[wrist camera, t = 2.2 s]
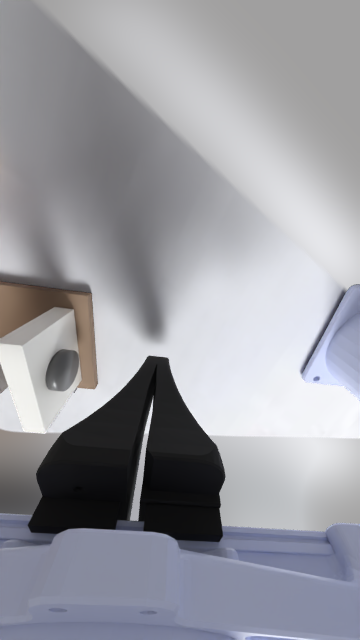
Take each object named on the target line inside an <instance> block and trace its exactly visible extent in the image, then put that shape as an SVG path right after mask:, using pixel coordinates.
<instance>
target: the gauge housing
mask: <svg viewBox="0 0 360 640" xmlns="http://www.w3.org/2000/svg"><path fill="white" fill-rule="evenodd" d="M54 307H59V308H67V309H74V316H75V325H76V334H77V342H78V351H79V360H80V368H81V377H82V380H81V382H80V383H79V385H78V386H77V388H86V389H95V388H96V386H97V384H98V381H97V366H96V351H95V337H94V322H93V307H92V293H86V292H78V291H70V290H62V289H55V288H47V287H39V286H31V285H24V284H16V283H8V282H1V281H0V338H2V337H4V336H5V335H7V334H9V333H11V332H12V331H14V330H16V329H18V328H19V327H21V326H23V325H24V324H26V323H28V322H30V321H31V320H33V319H35V318H37V317H38V316H40V315H42V314H43V313H45V312H47V311H49V310H50V309H52V308H54ZM7 387H8V384H7V381H6V379H5V376H4V373H3V370H2V367H1V364H0V394H1V393H2V392H3V391H4V390H5V389H6V388H7Z"/></svg>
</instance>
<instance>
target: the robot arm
mask: <svg viewBox="0 0 360 640" xmlns="http://www.w3.org/2000/svg"><path fill="white" fill-rule="evenodd" d="M302 379H303V380H304V381H305V382H308V383H317V384H326V385H335V386H344V387H345V388H346V389H347V390H348V391H349V392H350V393H351V394H353V395H354V396H355V397H356V398H357V399H358V400H359V401H360V285H359V284H356V285H353V286H351V287H350V288H349V289H348V290H347V292H346V294H345V295H344V297H343V299H342V301H341V303H340V305H339V307H338V308H337V310H336V312H335V314H334V316H333V318H332V320H331V321H330V323H329V325H328V327H327V329H326V331H325V333H324V335H323V336H322V338H321V340H320V342H319V344H318V346H317V348H316V349H315V351H314V353H313V355H312V357H311V359H310V361H309V362H308V364H307V366H306V368H305V370H304V372H303V374H302ZM153 395H154V397H153ZM152 399H153V412H152V418H151V424H150V430H149V436H148V441H147V448H146V457H145V466H144V477H143V484H142V491H141V498H140V509H139V520H138V521H130V515H131V509H132V503H133V496H134V490H135V484H136V477H137V472H138V466H139V460H140V454H141V448H142V441H143V436H144V431H145V426H146V422H147V419H148V415H149V411H150V407H151V403H152ZM36 476H37V482H38V484H39V487H40V490H41V493H42V498H41V500H40V502H39V504H38V506H37V508H36V510H35V512H34V514H33V515H20V514H2V513H0V640H360V524H351V523H350V524H349V523H336V524H332V525H330V526H329V527H328V528H327V529H326V531H325V532H321V531H302V530H286V529H268V528H250V527H232V526H222V524H221V517H220V510H219V508H220V506H221V504H220V496H219V492H220V490H221V488H222V485H223V483H224V481H225V472H224V467H223V463H222V460H221V457H220V453H219V451H218V448H217V446H216V444H215V443H214V442H213V441H212V440H211V439H210V438H209V437H208V435H207V434H206V433H205V432H204V431H203V429H202V428H201V427H200V425H199V424H198V423H197V421H196V420H195V418H194V417H193V415H192V414H191V413H190V411H189V410H188V408H187V406H186V405H185V403H184V401H183V399H182V397H181V395H180V393H179V391H178V389H177V387H176V384H175V382H174V379H173V376H172V373H171V369H170V365H169V359H168V358H165V357H156V356H148V357H147V359H146V360H145V362H144V364H143V365H142V366H141V368H140V369H139V370H138V372H137V373H136V374H135V376H134V377H133V378H132V379H131V380H130V381H129V382H128V383H127V385H126V386H125V387H124V388H123V389H122V390H121V391H120V392H119V393H118V394H116V395H115V396H114V397H113V398H112V399H111V400H110V401H108V402H107V403H106V404H105V405H103V406H102V407H101V408H100V409H98V410H97V411H95V412H94V413H93V414H91V415H90V416H88V417H87V418H85V419H84V420H82V421H81V422H79V423H78V424H76V425H74V426H73V427H71V428H69V429H68V430H66V431H64V432H63V433H62V434H61V435H60V436H59V438H58V439H57V440H56V442H55V443H54V444H53V446H52V447H51V449H50V450H49V452H48V454H47V455H46V457H45V458H44V460H43V462H42V463H41V465H40V467H39V468H38V471H37V473H36Z"/></svg>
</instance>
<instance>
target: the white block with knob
mask: <svg viewBox="0 0 360 640" xmlns="http://www.w3.org/2000/svg"><path fill="white" fill-rule="evenodd" d="M0 364H1V367H2V370H3V373H4V376H5V379H6V381H7V384H8V387H9V390H10V393H11V396H12V399H13V402H14V405H15V408H16V411H17V414H18V416H19V419H20V422H21V425H22V428H23V431H24V432H32V433H44V434H46V432H47V431H48V429H49V428H50V426H51V425H52V423H53V422H54V420H55V419H56V417H57V416H58V414H59V413H60V411H61V410H62V408H63V407H64V405H65V404H66V402H67V401H68V400H69V398H70V397H71V395H72V394H73V392H74V393H75V391H76V390H77V386H78V385H79V383H80V382H81V380H82V377H81V368H80V360H79V351H78V342H77V334H76V325H75V316H74V309H67V308H59V307H54V308H52V309H50V310H49V311H47V312H45V313H43V314H42V315H40V316H38V317H37V318H35V319H33V320H31V321H30V322H28V323H26V324H24V325H23V326H21V327H19V328H18V329H16V330H14V331H12V332H11V333H9V334H7V335H5V336H4V337H2V338H0Z"/></svg>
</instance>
